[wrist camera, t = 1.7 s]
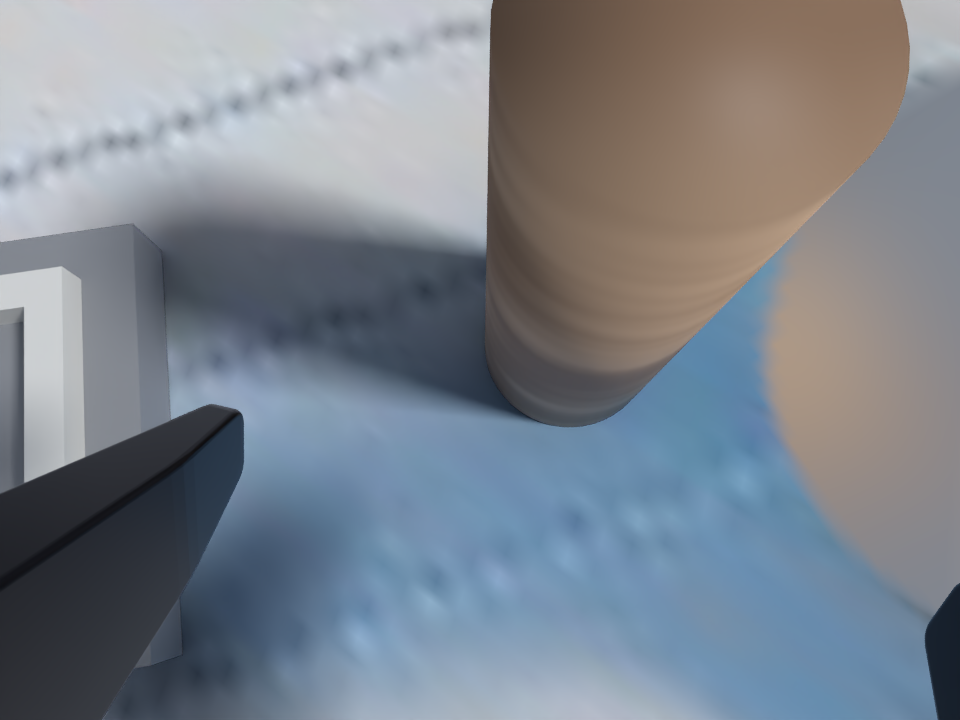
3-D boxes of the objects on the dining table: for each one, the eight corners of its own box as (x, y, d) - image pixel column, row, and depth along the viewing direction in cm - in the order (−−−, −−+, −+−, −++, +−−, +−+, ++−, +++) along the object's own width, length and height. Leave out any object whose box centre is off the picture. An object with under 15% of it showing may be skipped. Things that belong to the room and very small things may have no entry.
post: (666, 413, 22) (965, 185, 8) (499, 439, 22) (528, 250, 8) (631, 257, 23) (843, -161, 10) (473, 280, 23) (461, -111, 9)
